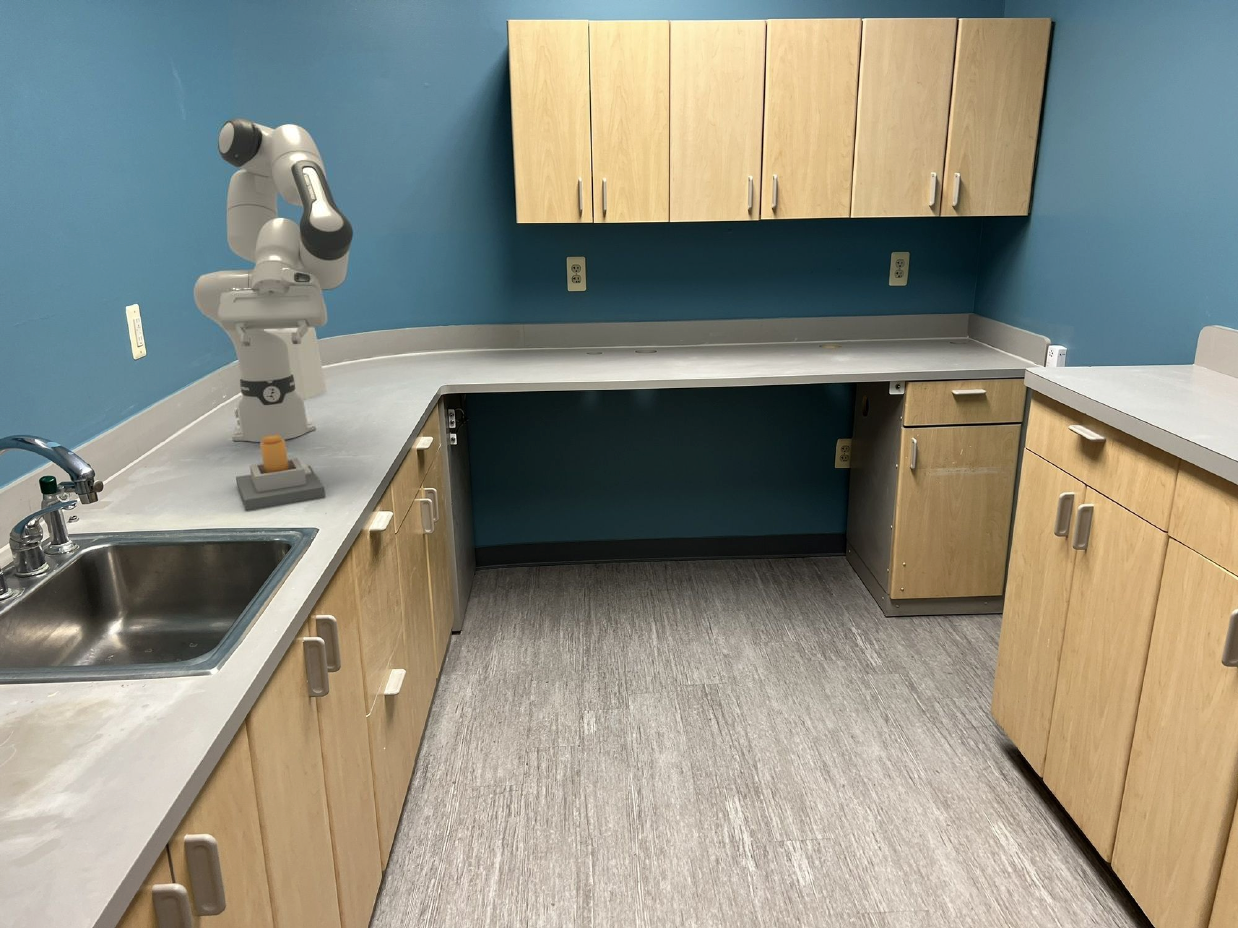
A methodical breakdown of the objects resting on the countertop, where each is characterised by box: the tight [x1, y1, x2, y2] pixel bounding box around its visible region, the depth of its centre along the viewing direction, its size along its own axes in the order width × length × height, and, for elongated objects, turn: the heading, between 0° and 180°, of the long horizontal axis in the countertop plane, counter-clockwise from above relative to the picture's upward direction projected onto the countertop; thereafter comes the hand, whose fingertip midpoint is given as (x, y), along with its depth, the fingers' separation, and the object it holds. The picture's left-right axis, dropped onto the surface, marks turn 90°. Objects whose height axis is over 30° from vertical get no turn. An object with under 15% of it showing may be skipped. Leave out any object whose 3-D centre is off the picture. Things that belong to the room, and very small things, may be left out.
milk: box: [263, 327, 327, 401], centre depth 248 cm, size 12×12×26 cm
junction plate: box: [235, 457, 326, 511], centre depth 166 cm, size 16×14×5 cm
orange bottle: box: [259, 435, 289, 473], centre depth 165 cm, size 4×4×9 cm
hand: (270, 343), depth 167 cm, fingers open, 8 cm apart
